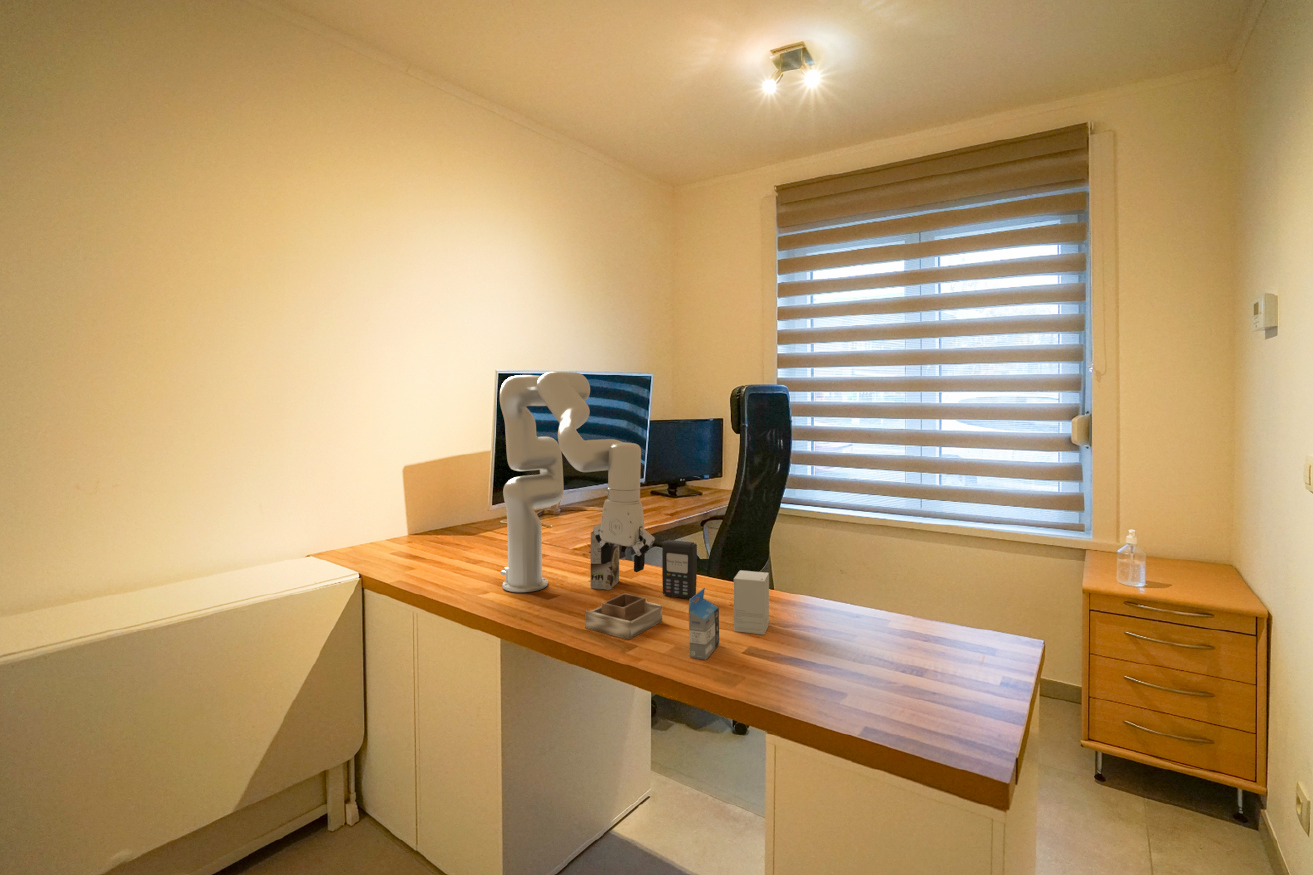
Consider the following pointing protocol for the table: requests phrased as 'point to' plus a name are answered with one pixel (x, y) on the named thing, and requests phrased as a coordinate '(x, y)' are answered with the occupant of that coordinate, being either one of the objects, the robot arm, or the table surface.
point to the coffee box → (603, 566)
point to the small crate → (625, 607)
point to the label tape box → (703, 626)
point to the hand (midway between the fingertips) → (622, 566)
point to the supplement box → (751, 602)
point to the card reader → (679, 568)
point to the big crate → (623, 622)
